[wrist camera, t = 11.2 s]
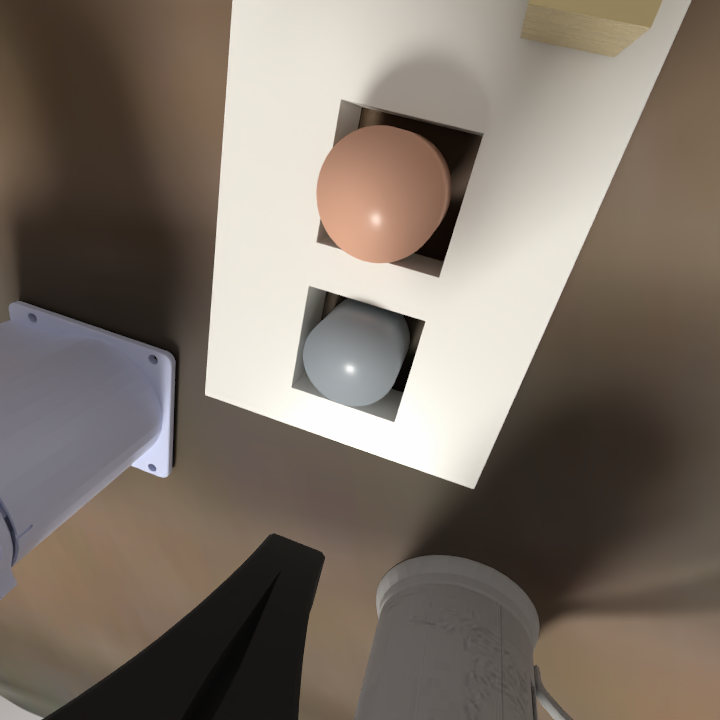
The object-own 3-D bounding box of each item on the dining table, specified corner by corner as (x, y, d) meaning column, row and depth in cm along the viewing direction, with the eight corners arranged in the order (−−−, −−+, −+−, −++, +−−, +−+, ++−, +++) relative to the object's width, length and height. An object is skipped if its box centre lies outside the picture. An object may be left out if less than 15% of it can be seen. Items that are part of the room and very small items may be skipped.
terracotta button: (335, 230, 16) (307, 244, 14) (356, 118, 14) (328, 110, 12) (433, 258, 16) (422, 278, 13) (466, 145, 14) (461, 143, 11)
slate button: (320, 360, 20) (296, 388, 18) (335, 283, 18) (311, 303, 16) (397, 385, 20) (384, 418, 17) (420, 309, 18) (408, 334, 16)
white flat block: (233, 370, 22) (203, 395, 20) (295, -230, 13) (252, -313, 11) (476, 453, 20) (473, 491, 18) (741, -170, 11) (805, -253, 9)
